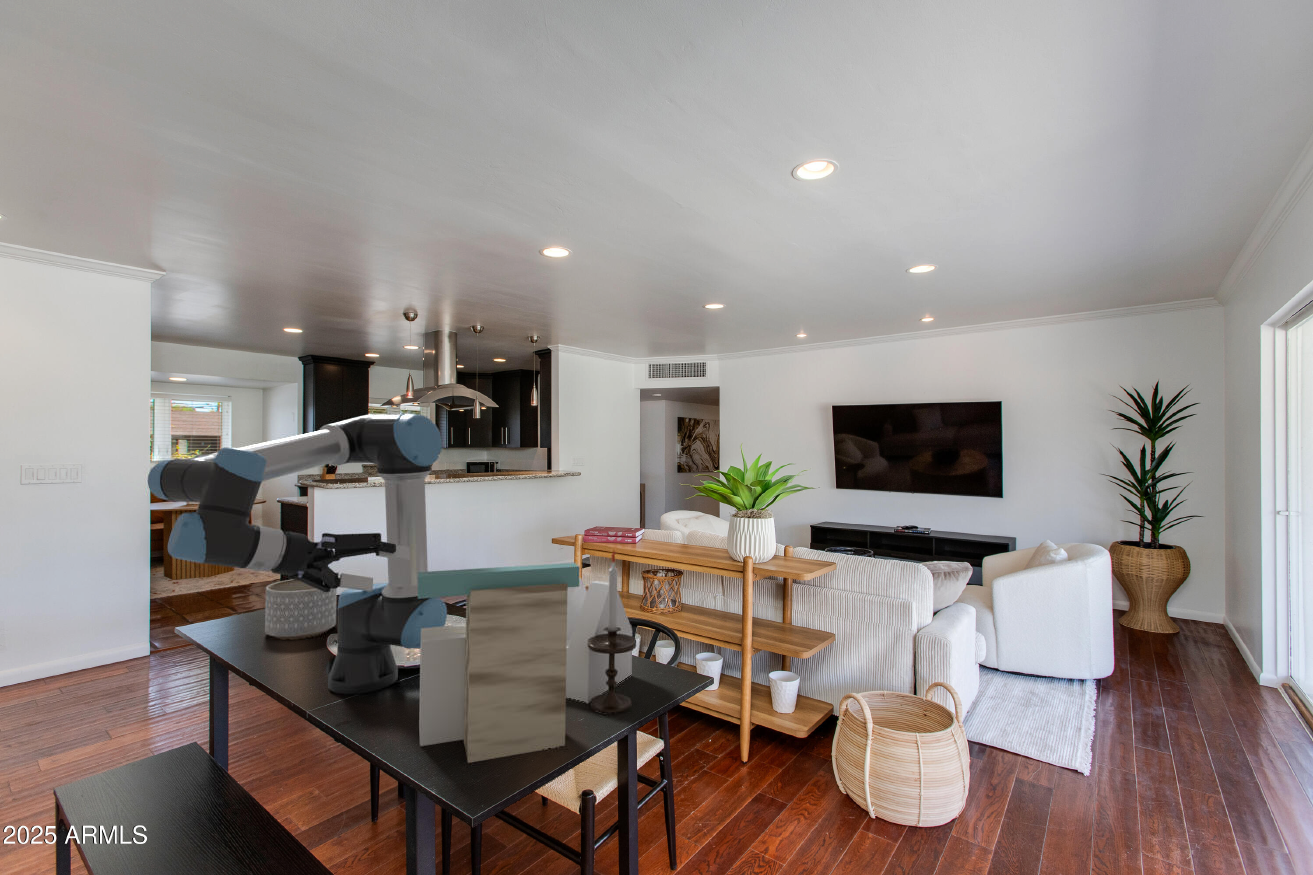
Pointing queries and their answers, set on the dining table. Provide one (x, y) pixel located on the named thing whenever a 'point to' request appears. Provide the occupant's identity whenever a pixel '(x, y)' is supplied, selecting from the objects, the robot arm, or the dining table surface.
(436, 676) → the white lidded box
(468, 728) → the stand
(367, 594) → the robot arm
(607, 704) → the candlestick
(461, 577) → the bar
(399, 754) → the dining table surface
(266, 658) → the dining table surface
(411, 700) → the dining table surface
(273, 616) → the planter
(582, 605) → the white slotted block
